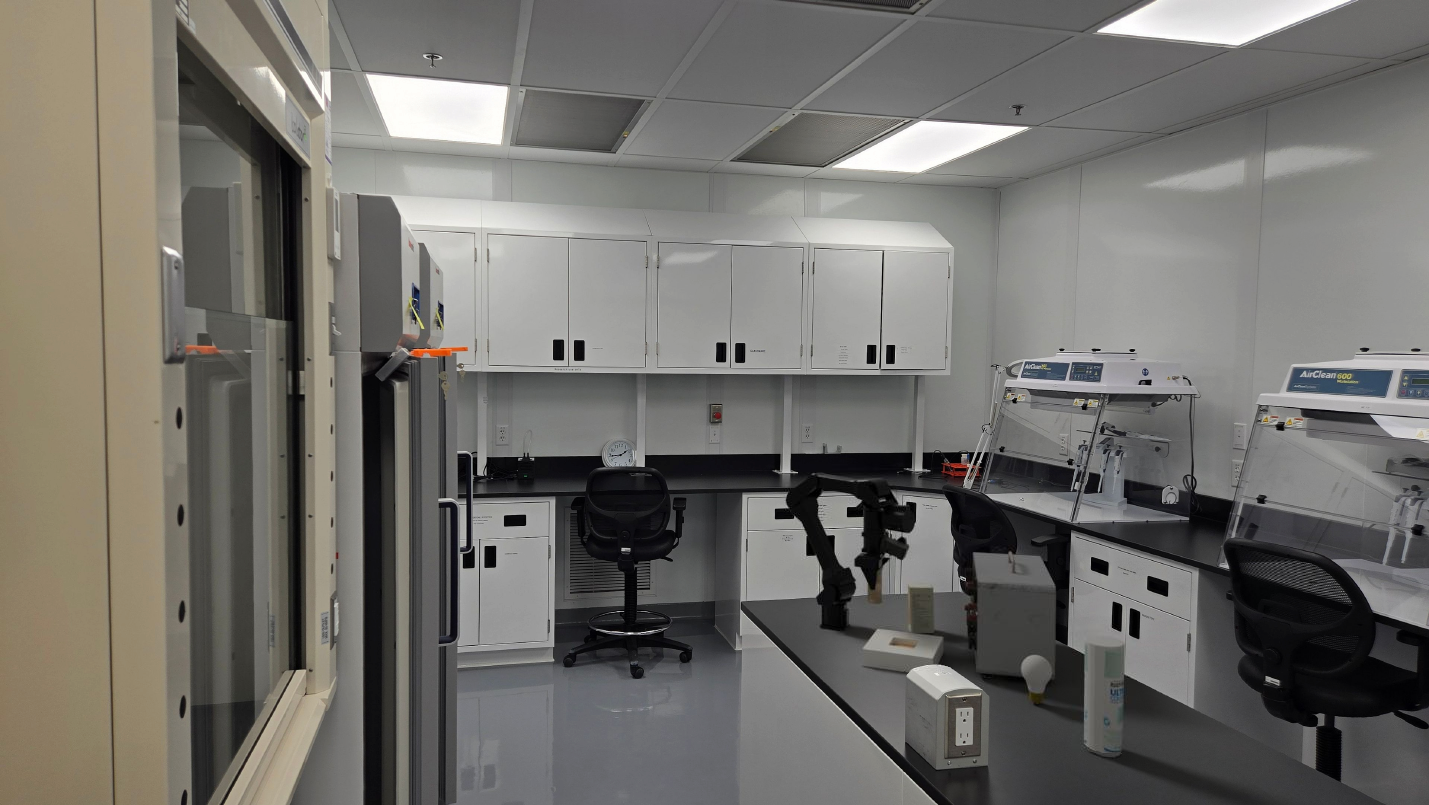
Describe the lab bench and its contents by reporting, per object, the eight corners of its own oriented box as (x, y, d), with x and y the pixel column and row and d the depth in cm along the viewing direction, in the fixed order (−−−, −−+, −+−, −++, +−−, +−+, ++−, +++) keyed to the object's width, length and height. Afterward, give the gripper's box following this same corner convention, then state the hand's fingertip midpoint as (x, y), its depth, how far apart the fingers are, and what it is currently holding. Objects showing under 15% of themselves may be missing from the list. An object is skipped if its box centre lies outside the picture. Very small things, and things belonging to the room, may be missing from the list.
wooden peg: (866, 602, 208) (866, 564, 208) (869, 599, 212) (869, 561, 211) (880, 604, 207) (880, 565, 207) (883, 600, 210) (883, 562, 210)
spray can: (1111, 761, 143) (1112, 649, 142) (1076, 748, 148) (1077, 639, 148) (1129, 751, 147) (1131, 642, 146) (1095, 738, 152) (1096, 632, 151)
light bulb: (1050, 700, 170) (1051, 652, 169) (1052, 711, 164) (1053, 662, 164) (1020, 696, 172) (1020, 649, 171) (1021, 707, 166) (1021, 659, 166)
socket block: (862, 665, 190) (862, 648, 190) (877, 644, 204) (877, 628, 204) (932, 676, 183) (932, 658, 183) (943, 653, 198) (943, 637, 198)
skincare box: (931, 628, 217) (932, 583, 216) (934, 634, 212) (934, 587, 212) (907, 628, 217) (907, 582, 217) (909, 633, 213) (909, 587, 213)
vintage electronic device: (963, 634, 212) (964, 539, 211) (1038, 640, 207) (1039, 543, 206) (967, 679, 181) (968, 568, 180) (1054, 688, 176) (1056, 573, 175)
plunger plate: (889, 654, 192) (889, 651, 192) (894, 647, 197) (894, 644, 197) (913, 657, 190) (913, 654, 190) (917, 650, 195) (917, 647, 195)
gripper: (899, 537, 197) (898, 601, 197) (913, 523, 214) (913, 582, 215) (853, 533, 201) (853, 596, 202) (871, 520, 218) (871, 578, 219)
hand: (874, 588), depth 209 cm, fingers closed on wooden peg, 4 cm apart
